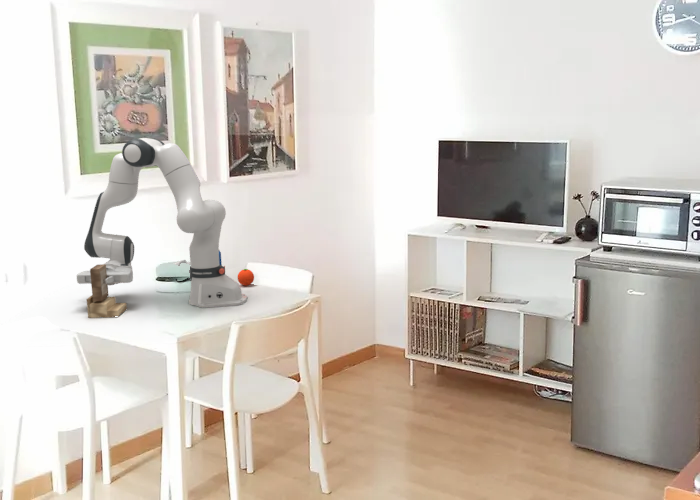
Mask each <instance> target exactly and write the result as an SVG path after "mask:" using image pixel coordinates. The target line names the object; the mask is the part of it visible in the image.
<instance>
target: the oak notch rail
mask: <svg viewBox="0 0 700 500" xmlns="http://www.w3.org/2000/svg"><path fill="white" fill-rule="evenodd" d="M116 300H117V298H116V296H107V297H106V298H105V299H104V300H102V301H93V296H92V295H90V296H89V297H88V298H86V307H87V318H89V319H91V318H92V319H95V318H96V319H97V318H99V319H101V318H100V317H103V318H116V317H115V316H119V315H120V314H121V313H122V314H123V313H125V311H126V309H127V310H128V306H127V302H116ZM122 314H121V315H122ZM121 315H120V316H121ZM120 316H119V317H120Z"/></svg>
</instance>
